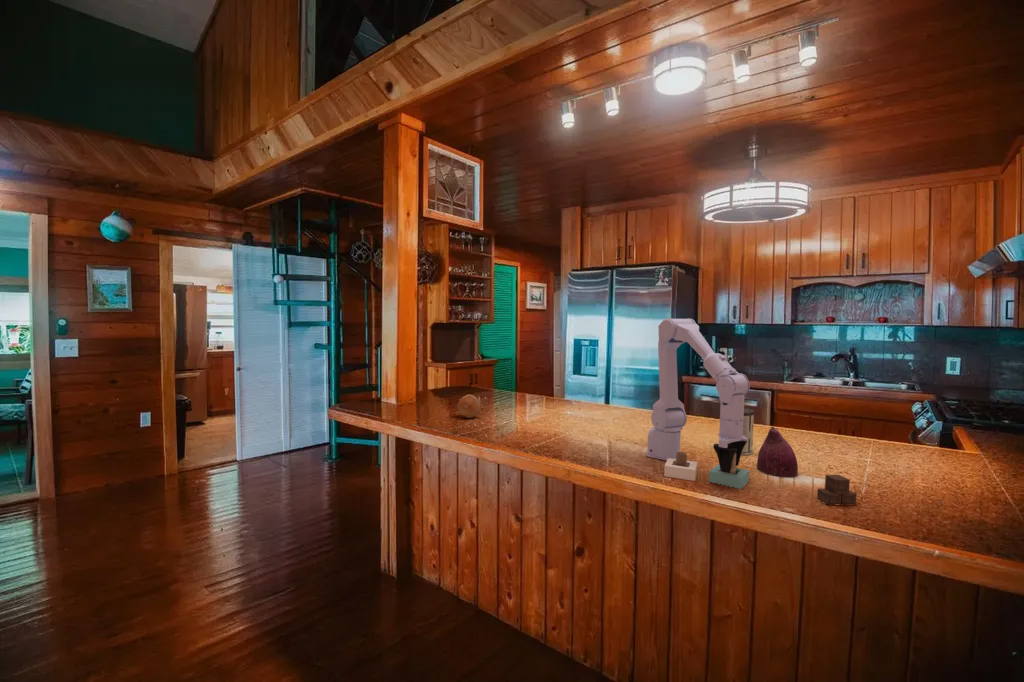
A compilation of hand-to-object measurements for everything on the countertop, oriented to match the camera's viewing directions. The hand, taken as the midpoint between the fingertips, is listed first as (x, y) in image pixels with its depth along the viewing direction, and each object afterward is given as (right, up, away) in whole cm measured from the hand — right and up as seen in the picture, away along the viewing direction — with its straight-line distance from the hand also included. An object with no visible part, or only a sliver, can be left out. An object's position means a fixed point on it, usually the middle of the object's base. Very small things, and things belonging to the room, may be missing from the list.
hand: (729, 468), depth 127 cm
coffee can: (+16, -2, +30) cm, 34 cm away
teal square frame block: (0, -4, 0) cm, 4 cm away
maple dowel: (0, -4, 0) cm, 4 cm away
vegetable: (+18, -4, +10) cm, 21 cm away
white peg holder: (-11, -3, +6) cm, 13 cm away
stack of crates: (+20, -5, -12) cm, 23 cm away
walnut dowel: (-11, -3, +6) cm, 13 cm away
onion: (-77, +1, +74) cm, 107 cm away
